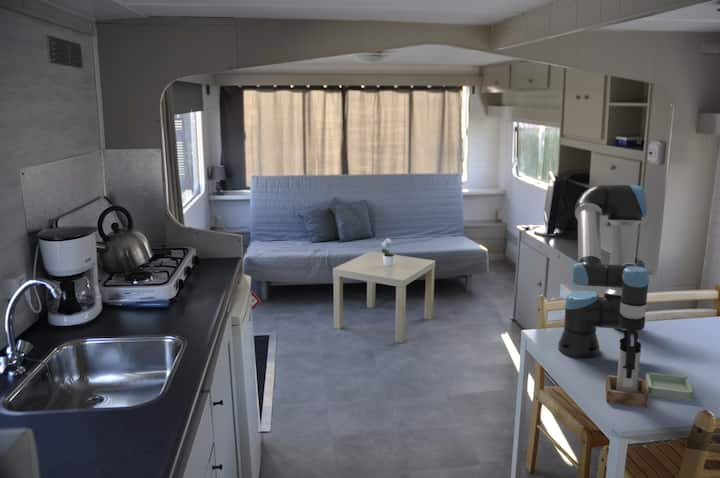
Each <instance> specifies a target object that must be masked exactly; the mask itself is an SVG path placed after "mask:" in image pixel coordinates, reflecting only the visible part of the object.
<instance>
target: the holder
mask: <svg viewBox="0 0 720 478" xmlns="http://www.w3.org/2000/svg"><path fill="white" fill-rule="evenodd" d="M616 388H617V375H611V374H610V375H609V374H606V376H605V397H606V398H605V399H606V403H609V404H615V405H616V404H617V405H618V404H619V405H625V406H633V407H640V408H648V407H649V406H648V404H649V396H648V392H647V387H646V382H645V378H644V379H642V378H638V387H637V393H630V392H622V391H616V390H614V389H616ZM638 392H640V393H638Z"/></svg>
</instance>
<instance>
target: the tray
mask: <svg viewBox="0 0 720 478" xmlns="http://www.w3.org/2000/svg"><path fill="white" fill-rule="evenodd" d="M644 380H645V382H646V387H647V392H648V397H654V398H655V397H656V398H661V397H663V398H664V399H669V398H670V400H671V399H672V400H677V399H679V400H678V401H685V402H686V401H687V402H693V400H694V391H693V388H692V385H691V382H690V379H689V377H688V376H684V375H675V374H668V373H667V374H666V373H658V372H649V371H645V374H644Z"/></svg>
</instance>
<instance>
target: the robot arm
mask: <svg viewBox="0 0 720 478" xmlns="http://www.w3.org/2000/svg"><path fill="white" fill-rule="evenodd" d="M647 205H648V204H647V196H646V192H645V189H644V188H643V187H642V185H641V186H640V185H634V184H633V185H632V184H627V185H626V184H596V185H594V186H591V187H590V188H588V189H587V190H586V189H585V190H584V192H582V194H581V195H580V196H579V197H578V199H577V201H576V203H575V206H574V217H575V218H576V220H577V256H578V257H577V261H578V262H574V263H572V264H573V265H572V275H571V277H572V278H571V280H572V281H571V282H572V283H573V285H576V286H578V285H579V286H584V287H605V288H607V289H606V290H605V291H604V293H603V296H599V293H597V292H596V291H593V290H577V291H572V292H570V293H569V294H568V295H566V298H565V304H564V323H563V330H562V333H561V335H560V339H559V340H558V344H557V345H558V347H557V348H558V351H559V352H561V353H562V354H564V355H566V356H569V357H573V358H578V359H579V358H580V359H590V358H594V357H597V356H598V355H599V354H600V344H599V340H598V336H597V333H596V332H597V328H605V329H614V330H615V329H617V330H620V329H622V330H624V329H625V330H624V331H623V338H624V340H625V346H626V363H625V366H623V368H624V379H623V386H626V387H632V385H633V373H634V369H635V355H636V347H637V341H638V339H639V333H638V331H642V330H643V329H645V326H646V325H645V324H646V312H647V310H648V309H649V306H648V305H647V299H648V291H649V283H650V271H649V270H648V269H647V268H645V269H644V268H642V267H638V266H637V265H636V264H635V257H636V245H637V243H636V242H637V227H638V225H640V224H641V223H642V218H645V217H646V216H647V214H648V213H647V212H648V211H647V210H648V208H647V207H648V206H647ZM602 216H604V217H605V216H606V217H607V221H608V223H609V224H610V225H611V237H610V254H609V258H610V259H609V264H606V263H605V264H604V263H602V243H601V218H602ZM622 330H621V331H622Z"/></svg>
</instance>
